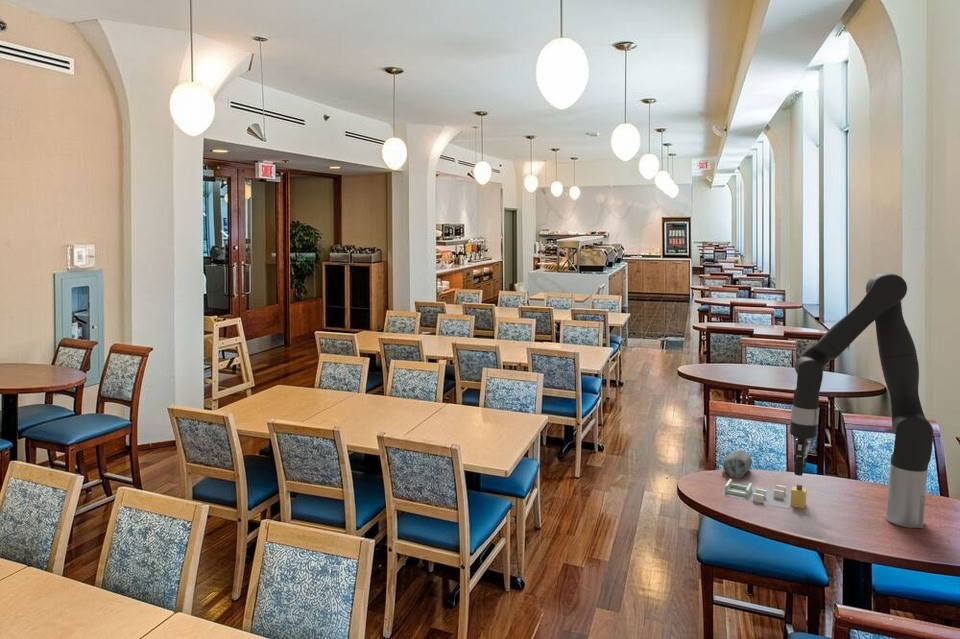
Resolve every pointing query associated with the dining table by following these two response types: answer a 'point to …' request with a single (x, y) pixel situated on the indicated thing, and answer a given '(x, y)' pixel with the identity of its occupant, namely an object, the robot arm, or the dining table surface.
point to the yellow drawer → (798, 496)
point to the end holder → (747, 488)
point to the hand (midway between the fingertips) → (800, 470)
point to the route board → (768, 500)
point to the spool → (737, 463)
